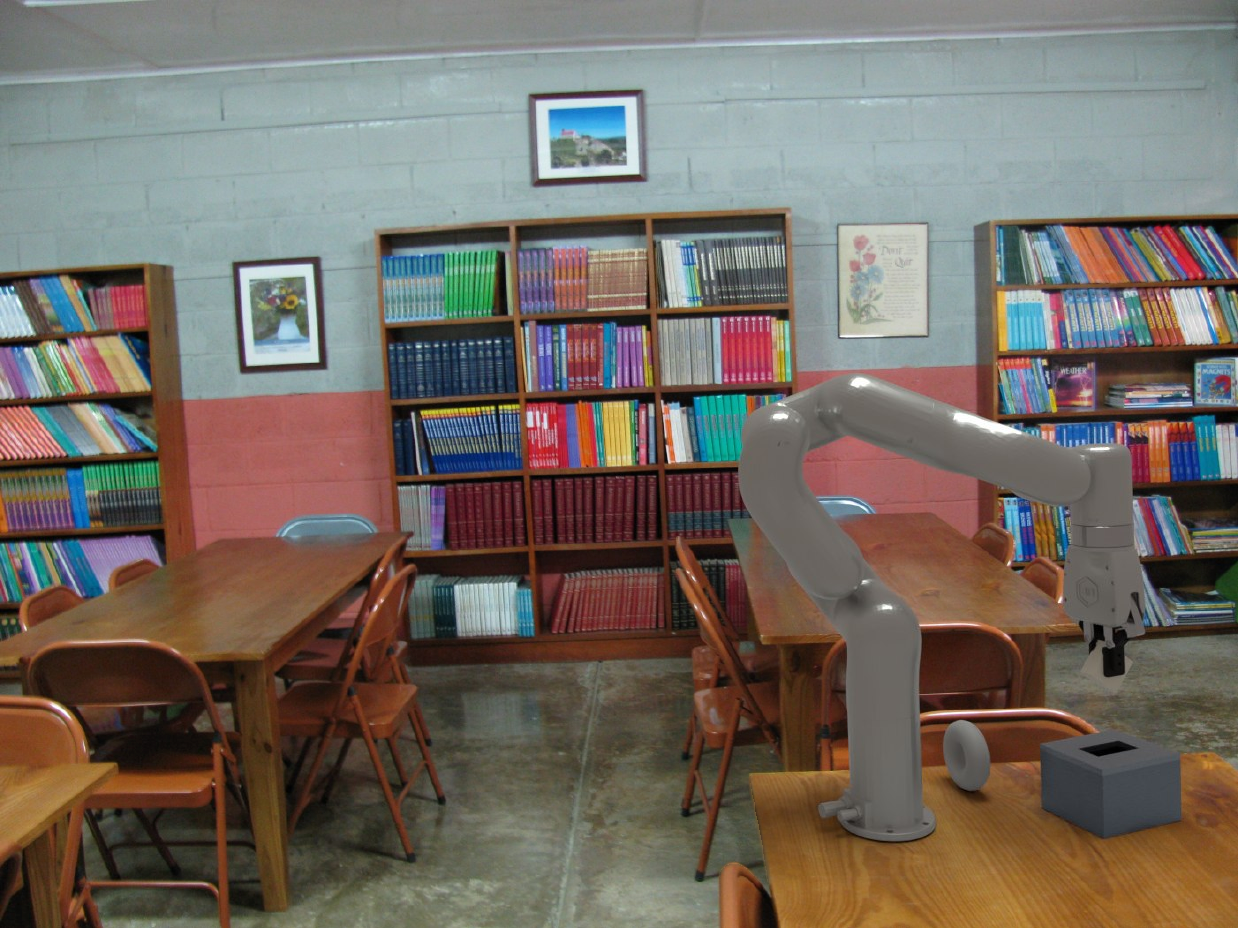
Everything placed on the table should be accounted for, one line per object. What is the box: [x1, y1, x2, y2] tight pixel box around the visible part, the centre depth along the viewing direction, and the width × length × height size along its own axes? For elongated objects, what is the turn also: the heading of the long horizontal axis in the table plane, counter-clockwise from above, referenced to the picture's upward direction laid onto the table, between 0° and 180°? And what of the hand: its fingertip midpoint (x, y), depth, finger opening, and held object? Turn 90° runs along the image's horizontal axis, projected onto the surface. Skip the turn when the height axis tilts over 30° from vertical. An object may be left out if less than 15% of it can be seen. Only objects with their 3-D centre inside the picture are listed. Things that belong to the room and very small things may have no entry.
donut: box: [942, 719, 992, 792], centre depth 147 cm, size 10×4×10 cm, turn 10°
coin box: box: [1039, 729, 1183, 840], centre depth 136 cm, size 13×11×9 cm
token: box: [1079, 640, 1134, 695], centre depth 135 cm, size 5×2×5 cm
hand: (1107, 672), depth 135 cm, fingers closed on token, 1 cm apart
